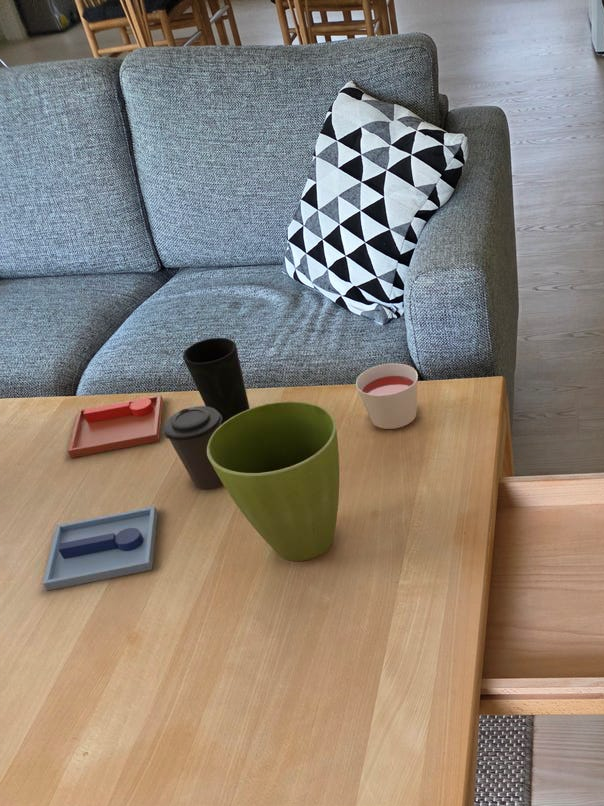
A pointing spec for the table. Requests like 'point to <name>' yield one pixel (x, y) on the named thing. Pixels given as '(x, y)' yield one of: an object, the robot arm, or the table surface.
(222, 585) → the table surface
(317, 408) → the flower pot
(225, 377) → the cup
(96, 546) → the blue spoon
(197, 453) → the coffee cup
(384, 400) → the candle
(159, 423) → the red tray
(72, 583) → the blue tray
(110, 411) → the red spoon
